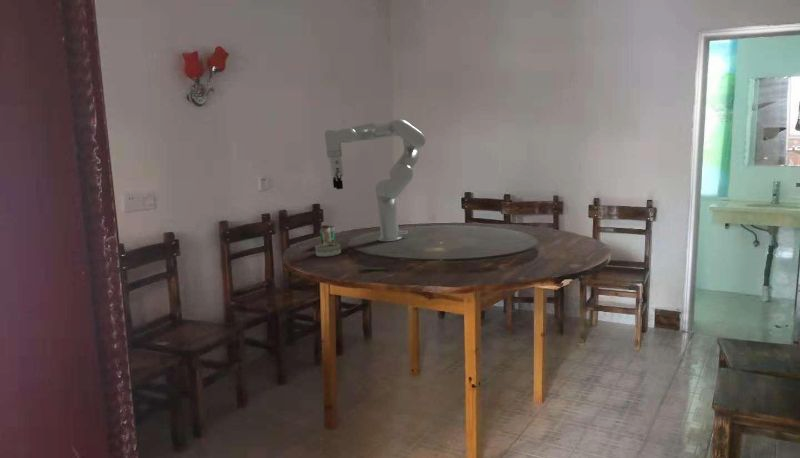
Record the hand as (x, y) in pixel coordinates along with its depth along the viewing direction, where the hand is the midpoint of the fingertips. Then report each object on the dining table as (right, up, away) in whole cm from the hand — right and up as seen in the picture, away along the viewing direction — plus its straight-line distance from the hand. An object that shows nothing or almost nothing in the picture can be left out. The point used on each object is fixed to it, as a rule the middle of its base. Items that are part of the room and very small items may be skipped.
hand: (338, 188), depth 317 cm
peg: (-4, -33, -9) cm, 34 cm away
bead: (-4, -33, -9) cm, 34 cm away
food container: (-5, -30, +11) cm, 32 cm away
